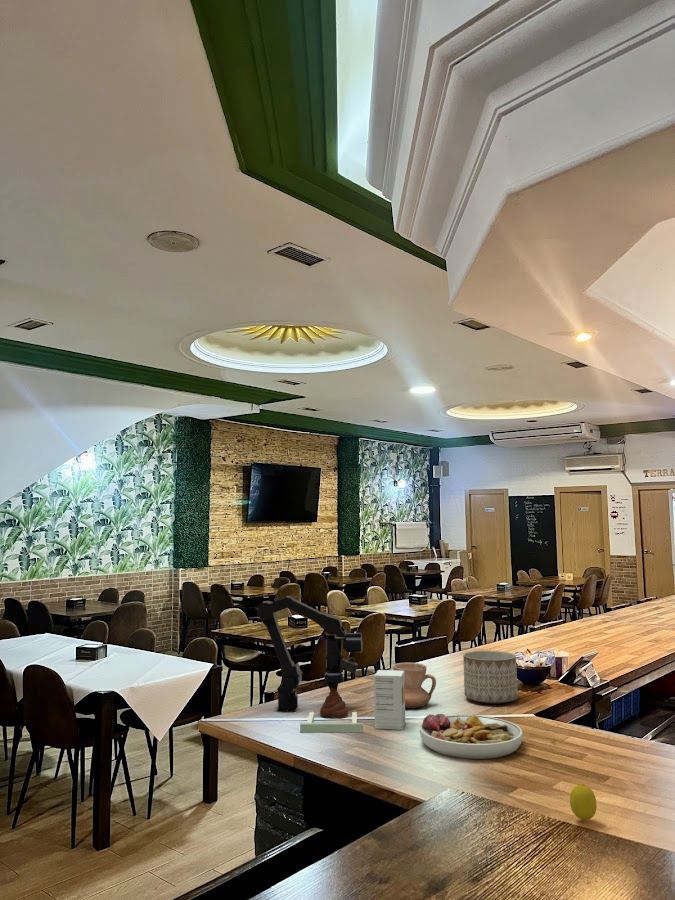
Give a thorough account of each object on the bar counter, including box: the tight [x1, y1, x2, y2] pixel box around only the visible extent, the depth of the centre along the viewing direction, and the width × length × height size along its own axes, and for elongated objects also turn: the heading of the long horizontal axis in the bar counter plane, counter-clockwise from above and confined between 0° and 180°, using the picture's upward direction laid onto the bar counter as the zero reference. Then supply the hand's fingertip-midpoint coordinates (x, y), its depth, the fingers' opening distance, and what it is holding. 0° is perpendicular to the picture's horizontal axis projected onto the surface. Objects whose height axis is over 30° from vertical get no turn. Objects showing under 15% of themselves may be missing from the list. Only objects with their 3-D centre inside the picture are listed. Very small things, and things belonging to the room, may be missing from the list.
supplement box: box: [373, 669, 406, 731], centre depth 223 cm, size 10×9×17 cm
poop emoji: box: [319, 688, 349, 719], centre depth 236 cm, size 10×8×9 cm
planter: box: [462, 650, 519, 705], centre depth 254 cm, size 19×19×16 cm
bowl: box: [419, 713, 523, 760], centre depth 202 cm, size 30×30×8 cm
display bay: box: [299, 711, 364, 734], centre depth 223 cm, size 20×14×2 cm
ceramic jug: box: [392, 662, 437, 709], centre depth 247 cm, size 18×14×14 cm
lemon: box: [569, 782, 598, 823], centre depth 149 cm, size 6×6×8 cm
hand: (334, 697), depth 242 cm, fingers closed
